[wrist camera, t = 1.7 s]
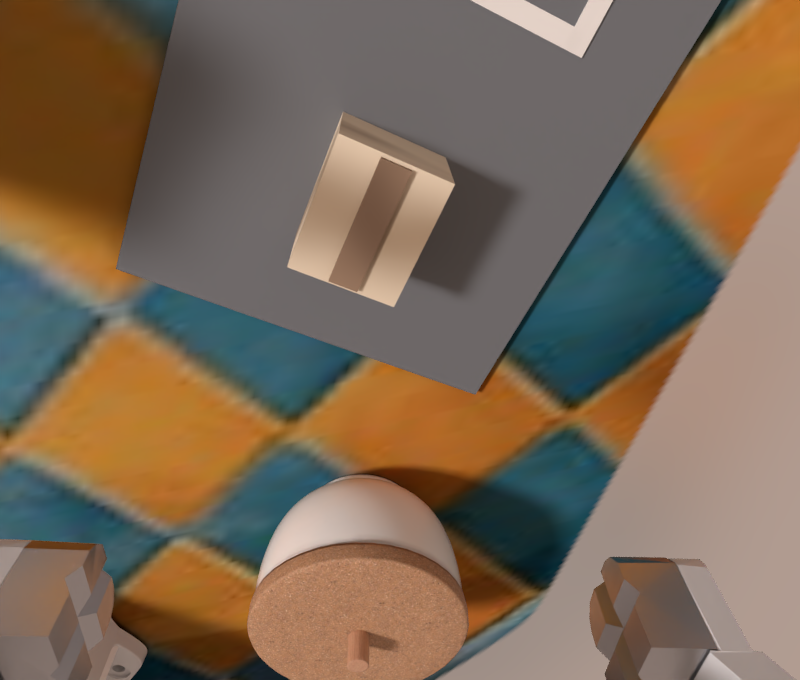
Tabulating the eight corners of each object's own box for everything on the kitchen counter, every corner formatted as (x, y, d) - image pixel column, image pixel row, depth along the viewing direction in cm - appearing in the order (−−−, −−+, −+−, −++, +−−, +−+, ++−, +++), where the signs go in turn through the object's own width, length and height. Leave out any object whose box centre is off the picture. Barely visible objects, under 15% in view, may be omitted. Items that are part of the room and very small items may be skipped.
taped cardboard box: (391, 269, 28) (394, 309, 25) (296, 232, 27) (286, 269, 24) (445, 157, 26) (455, 186, 22) (343, 111, 25) (338, 134, 21)
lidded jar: (489, 492, 36) (521, 644, 28) (385, 592, 41) (387, 747, 33) (332, 412, 33) (318, 559, 25) (236, 530, 37) (199, 687, 29)
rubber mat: (474, 389, 32) (475, 395, 32) (118, 264, 28) (115, 269, 28) (870, -249, 20) (881, -254, 19) (335, -657, 15) (334, -675, 15)
